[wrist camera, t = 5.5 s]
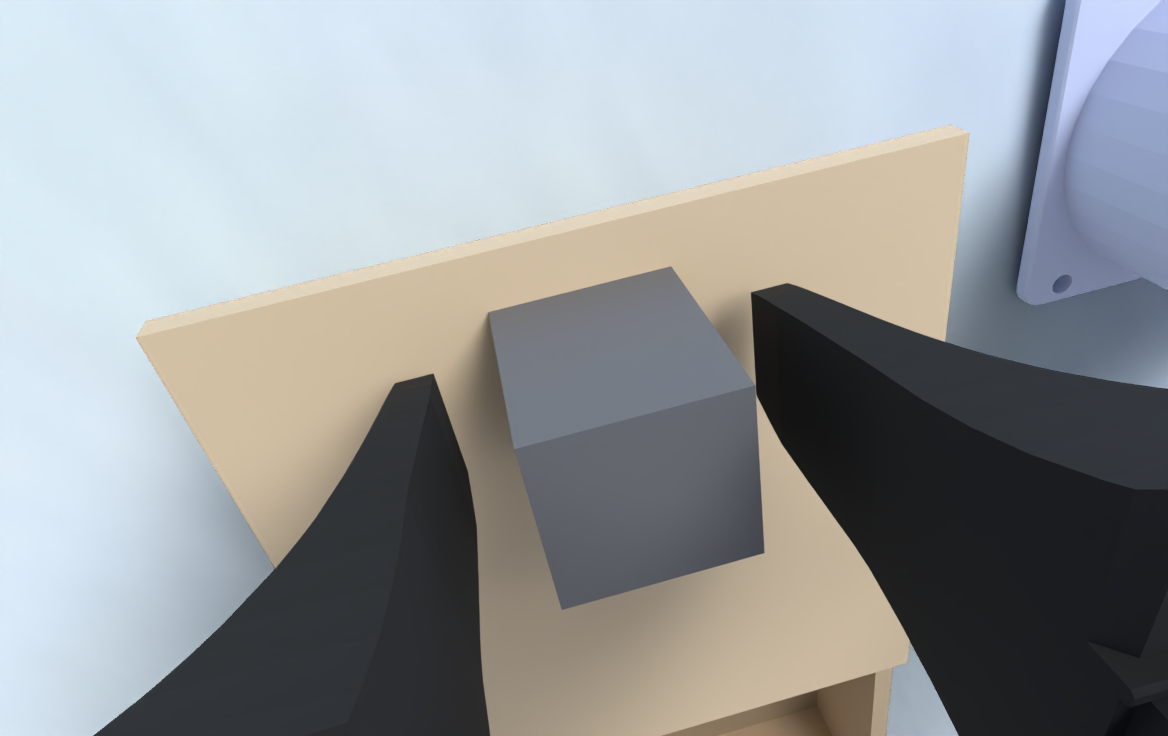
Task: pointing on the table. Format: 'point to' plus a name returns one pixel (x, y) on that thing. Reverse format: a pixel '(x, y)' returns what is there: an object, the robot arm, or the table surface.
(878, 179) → the sliding lid
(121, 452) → the table surface
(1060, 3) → the table surface
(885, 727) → the carton
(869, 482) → the robot arm
